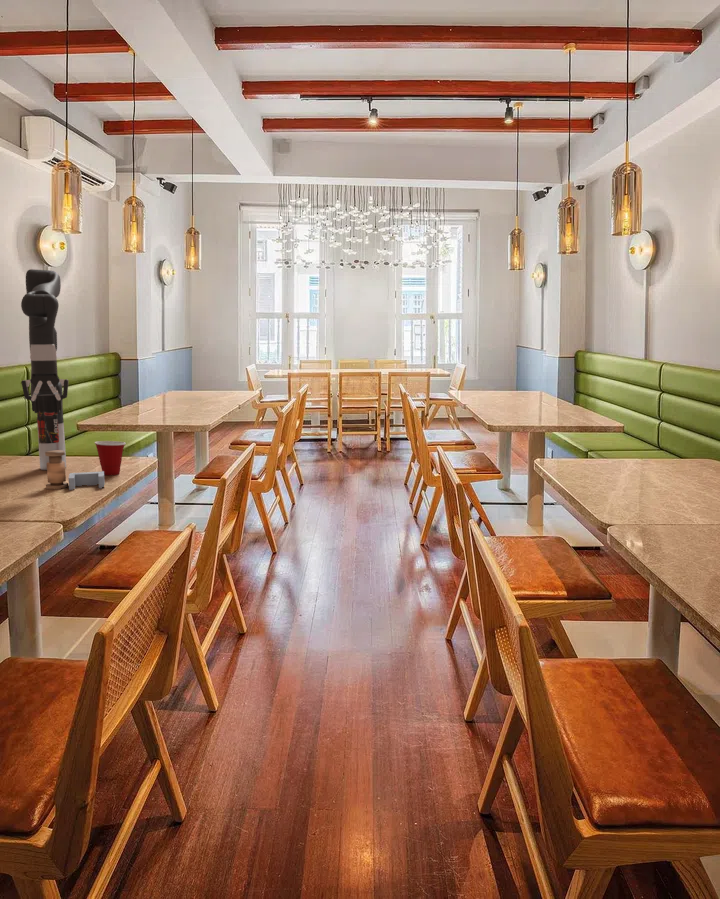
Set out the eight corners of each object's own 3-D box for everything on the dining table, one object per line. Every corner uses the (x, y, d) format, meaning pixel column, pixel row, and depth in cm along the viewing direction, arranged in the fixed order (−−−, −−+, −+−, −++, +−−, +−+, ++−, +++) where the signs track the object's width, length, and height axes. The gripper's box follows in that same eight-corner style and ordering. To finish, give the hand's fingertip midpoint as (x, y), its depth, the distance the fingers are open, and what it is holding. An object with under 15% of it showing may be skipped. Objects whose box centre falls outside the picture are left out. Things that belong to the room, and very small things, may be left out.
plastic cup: (133, 473, 274) (131, 441, 272) (105, 478, 266) (103, 444, 264) (117, 469, 281) (116, 438, 279) (90, 473, 273) (88, 441, 271)
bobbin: (46, 485, 252) (44, 450, 250) (68, 484, 255) (66, 449, 253) (45, 490, 246) (42, 454, 244) (67, 488, 248) (65, 453, 246)
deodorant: (42, 441, 241) (39, 394, 239) (61, 440, 241) (58, 394, 239) (36, 443, 235) (33, 396, 233) (55, 443, 236) (52, 395, 233)
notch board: (70, 484, 254) (69, 473, 254) (104, 482, 258) (103, 471, 257) (69, 490, 246) (68, 478, 245) (104, 487, 249) (103, 476, 249)
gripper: (69, 358, 240) (72, 410, 243) (20, 359, 236) (24, 412, 238) (67, 359, 233) (70, 412, 236) (17, 359, 229) (21, 414, 231)
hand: (47, 412), depth 237 cm, fingers closed on deodorant, 6 cm apart
